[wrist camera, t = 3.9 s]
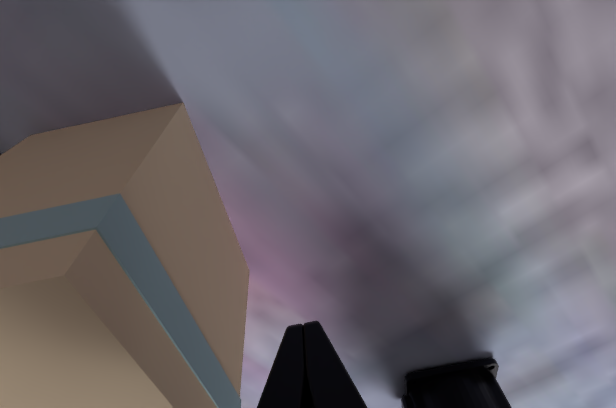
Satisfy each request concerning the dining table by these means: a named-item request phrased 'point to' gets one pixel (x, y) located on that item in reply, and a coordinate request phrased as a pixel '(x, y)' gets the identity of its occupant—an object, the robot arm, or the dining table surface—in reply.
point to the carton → (118, 270)
